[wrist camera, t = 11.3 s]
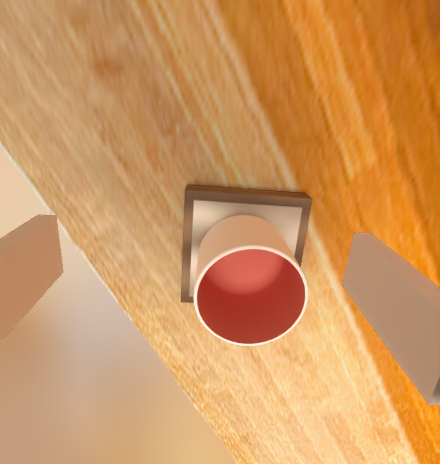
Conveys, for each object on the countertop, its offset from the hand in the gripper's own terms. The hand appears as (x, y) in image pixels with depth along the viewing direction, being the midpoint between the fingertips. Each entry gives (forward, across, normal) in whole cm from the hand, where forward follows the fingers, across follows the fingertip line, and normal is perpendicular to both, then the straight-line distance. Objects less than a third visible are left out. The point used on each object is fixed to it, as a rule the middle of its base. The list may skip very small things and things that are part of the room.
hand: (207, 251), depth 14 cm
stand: (+24, +4, -10) cm, 26 cm away
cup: (+21, +4, -10) cm, 23 cm away
